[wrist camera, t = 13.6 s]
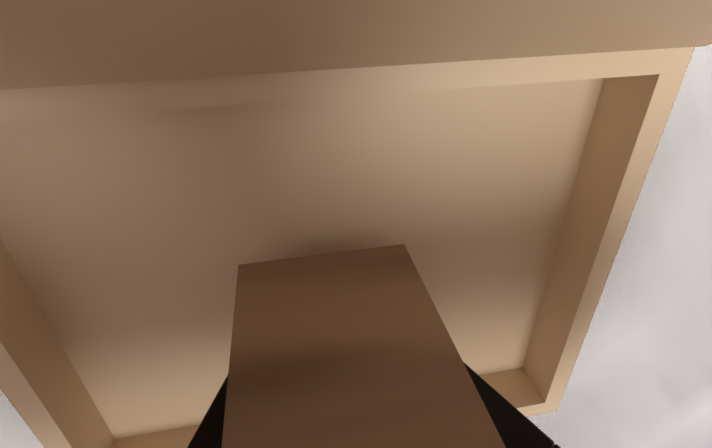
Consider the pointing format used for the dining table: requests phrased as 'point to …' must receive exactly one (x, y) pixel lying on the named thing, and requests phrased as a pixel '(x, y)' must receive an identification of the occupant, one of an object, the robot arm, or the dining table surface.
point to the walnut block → (346, 359)
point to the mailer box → (308, 219)
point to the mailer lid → (317, 35)
